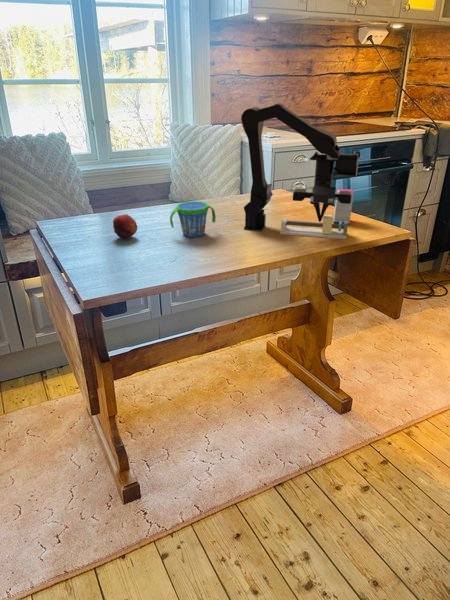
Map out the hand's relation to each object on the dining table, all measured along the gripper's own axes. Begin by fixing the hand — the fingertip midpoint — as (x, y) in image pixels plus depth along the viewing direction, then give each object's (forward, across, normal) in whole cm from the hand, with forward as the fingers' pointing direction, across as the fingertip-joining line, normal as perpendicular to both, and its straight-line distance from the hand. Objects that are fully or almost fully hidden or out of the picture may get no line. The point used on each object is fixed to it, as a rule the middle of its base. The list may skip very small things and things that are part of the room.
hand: (319, 221), depth 157 cm
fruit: (+5, -63, -19) cm, 66 cm away
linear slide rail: (+4, -2, 0) cm, 5 cm away
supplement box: (+5, +7, +16) cm, 18 cm away
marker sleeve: (+3, +3, 0) cm, 4 cm away
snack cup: (+5, -42, -10) cm, 43 cm away
